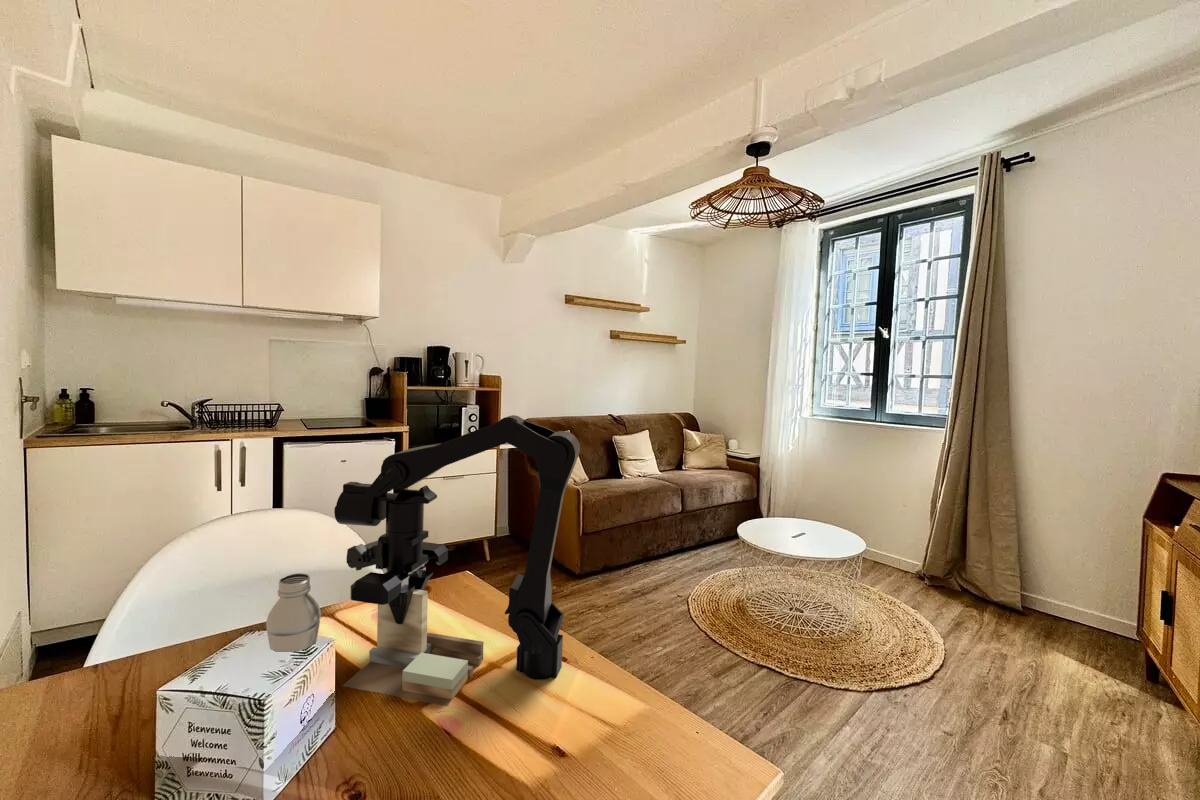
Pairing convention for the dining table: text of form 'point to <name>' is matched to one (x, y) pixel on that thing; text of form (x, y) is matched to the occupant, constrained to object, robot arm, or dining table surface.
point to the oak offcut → (434, 688)
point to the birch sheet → (404, 626)
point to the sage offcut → (435, 670)
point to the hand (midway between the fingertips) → (402, 620)
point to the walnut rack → (389, 664)
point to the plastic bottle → (293, 616)
